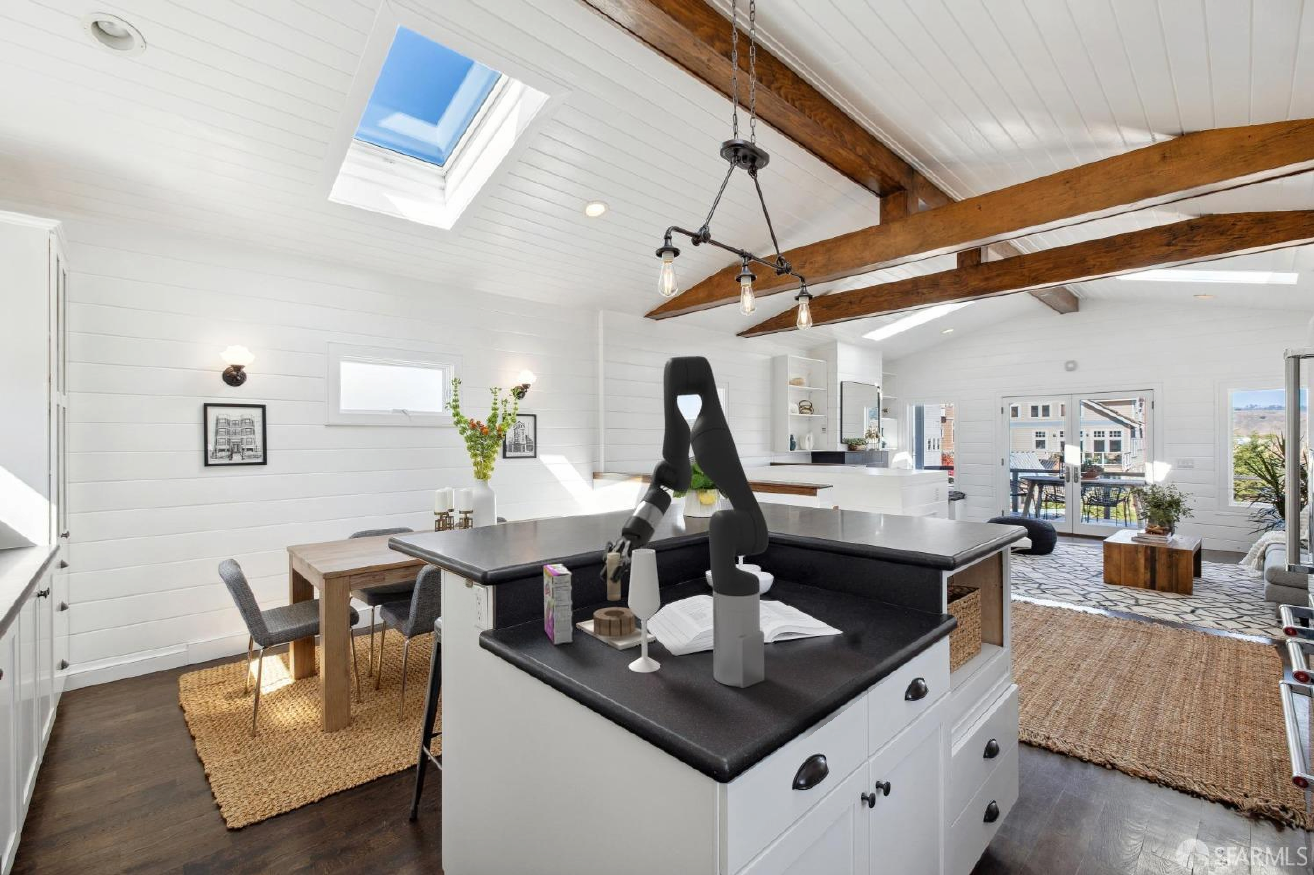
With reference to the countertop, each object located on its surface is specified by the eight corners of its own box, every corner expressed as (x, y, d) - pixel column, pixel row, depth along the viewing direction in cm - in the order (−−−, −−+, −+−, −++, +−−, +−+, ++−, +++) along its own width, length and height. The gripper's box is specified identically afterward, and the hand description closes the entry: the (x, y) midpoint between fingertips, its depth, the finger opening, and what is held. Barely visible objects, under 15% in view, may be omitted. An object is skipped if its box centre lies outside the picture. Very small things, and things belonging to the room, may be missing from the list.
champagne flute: (666, 663, 123) (665, 549, 123) (649, 675, 117) (648, 555, 117) (640, 657, 126) (639, 547, 126) (622, 668, 121) (621, 552, 121)
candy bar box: (543, 631, 145) (542, 564, 145) (563, 628, 147) (562, 563, 147) (552, 645, 134) (551, 574, 134) (573, 642, 136) (573, 572, 136)
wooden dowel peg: (623, 599, 142) (622, 553, 142) (611, 601, 140) (611, 555, 140) (615, 596, 145) (615, 551, 144) (604, 598, 143) (604, 553, 143)
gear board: (655, 640, 137) (655, 619, 137) (619, 649, 131) (619, 627, 131) (609, 619, 153) (609, 600, 153) (576, 627, 147) (576, 607, 147)
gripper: (616, 512, 152) (580, 566, 144) (655, 517, 143) (619, 575, 134) (630, 530, 156) (596, 584, 147) (670, 535, 147) (636, 594, 138)
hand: (607, 579), depth 141 cm, fingers closed on wooden dowel peg, 3 cm apart
